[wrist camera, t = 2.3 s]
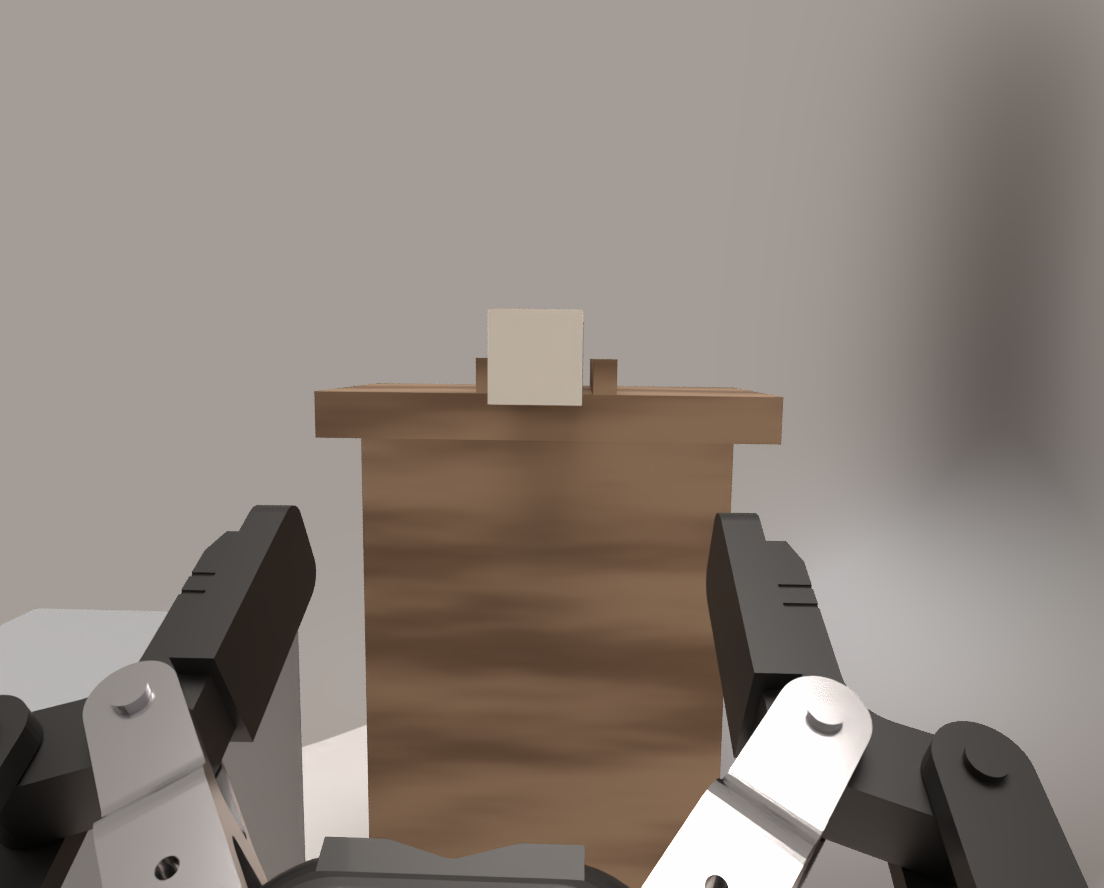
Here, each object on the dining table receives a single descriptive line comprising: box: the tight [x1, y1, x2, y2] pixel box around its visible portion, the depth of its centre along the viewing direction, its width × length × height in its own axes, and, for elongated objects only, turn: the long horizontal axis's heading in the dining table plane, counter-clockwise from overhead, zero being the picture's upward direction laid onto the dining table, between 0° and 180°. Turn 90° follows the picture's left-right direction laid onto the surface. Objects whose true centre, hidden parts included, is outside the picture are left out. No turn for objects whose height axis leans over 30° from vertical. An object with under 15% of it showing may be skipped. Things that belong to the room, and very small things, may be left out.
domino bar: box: [488, 309, 584, 406], centre depth 32 cm, size 18×3×3 cm, turn 178°
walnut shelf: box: [314, 358, 783, 888], centre depth 38 cm, size 10×20×34 cm, turn 88°
